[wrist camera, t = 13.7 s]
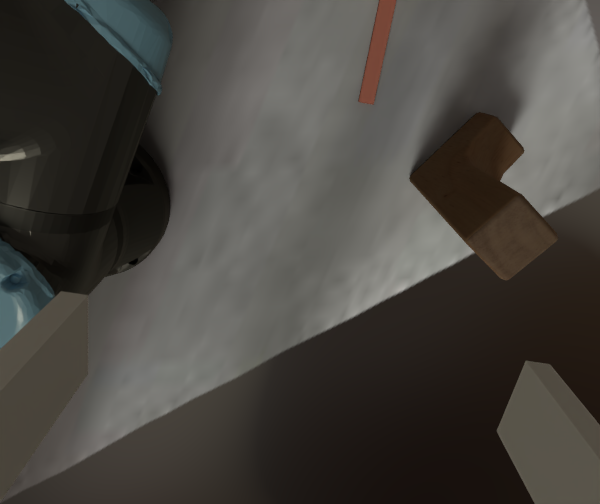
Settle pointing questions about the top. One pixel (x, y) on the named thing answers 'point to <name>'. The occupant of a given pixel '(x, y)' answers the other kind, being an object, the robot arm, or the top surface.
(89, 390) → the top surface
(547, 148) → the top surface
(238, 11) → the top surface
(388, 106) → the top surface
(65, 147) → the robot arm
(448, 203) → the wooden block
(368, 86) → the brown thin rod
